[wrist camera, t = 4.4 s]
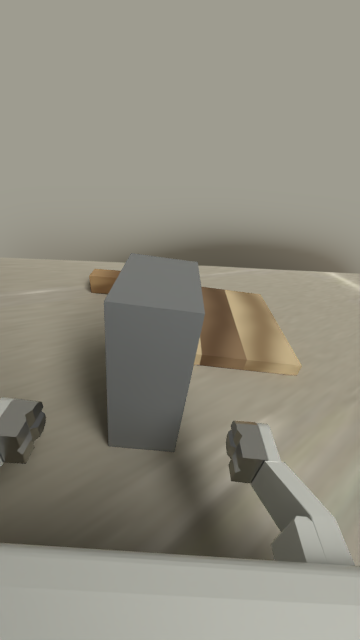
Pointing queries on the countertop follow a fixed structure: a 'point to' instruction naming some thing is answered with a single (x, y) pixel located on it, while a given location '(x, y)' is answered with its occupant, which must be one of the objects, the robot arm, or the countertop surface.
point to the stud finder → (151, 349)
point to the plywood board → (242, 335)
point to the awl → (103, 280)
